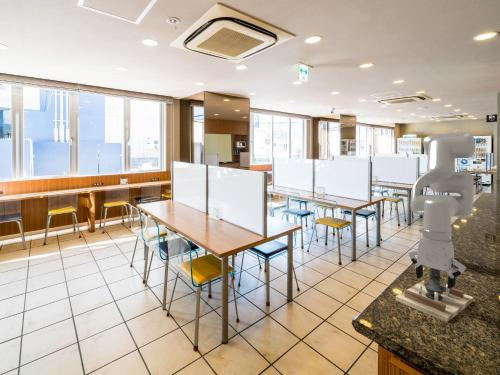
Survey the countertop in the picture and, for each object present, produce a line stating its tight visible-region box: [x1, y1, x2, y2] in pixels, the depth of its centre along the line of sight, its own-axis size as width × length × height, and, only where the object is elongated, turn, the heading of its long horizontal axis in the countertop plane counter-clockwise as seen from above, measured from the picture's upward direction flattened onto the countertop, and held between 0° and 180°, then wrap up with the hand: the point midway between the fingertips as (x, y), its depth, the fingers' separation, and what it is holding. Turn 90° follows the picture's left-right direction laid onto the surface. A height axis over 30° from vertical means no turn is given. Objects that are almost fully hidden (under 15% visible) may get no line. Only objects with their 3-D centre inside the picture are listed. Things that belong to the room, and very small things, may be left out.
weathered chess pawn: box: [425, 267, 445, 301], centre depth 94 cm, size 6×6×12 cm
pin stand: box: [395, 278, 474, 323], centre depth 95 cm, size 20×16×6 cm
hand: (434, 282), depth 94 cm, fingers open, 9 cm apart
